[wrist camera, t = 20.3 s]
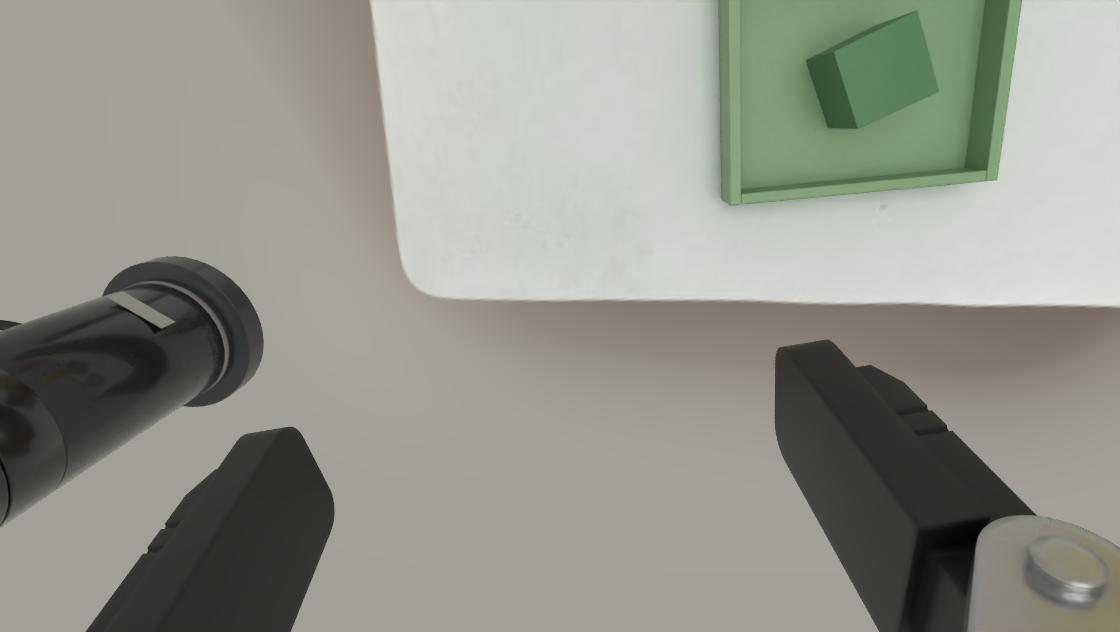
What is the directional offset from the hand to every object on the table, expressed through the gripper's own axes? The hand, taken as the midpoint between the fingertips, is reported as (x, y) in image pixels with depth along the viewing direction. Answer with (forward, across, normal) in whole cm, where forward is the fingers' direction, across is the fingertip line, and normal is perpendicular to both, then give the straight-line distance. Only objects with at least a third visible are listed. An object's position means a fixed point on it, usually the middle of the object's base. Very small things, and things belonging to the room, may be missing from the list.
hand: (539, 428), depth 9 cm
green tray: (+26, -18, 0) cm, 32 cm away
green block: (+26, -18, 0) cm, 31 cm away
